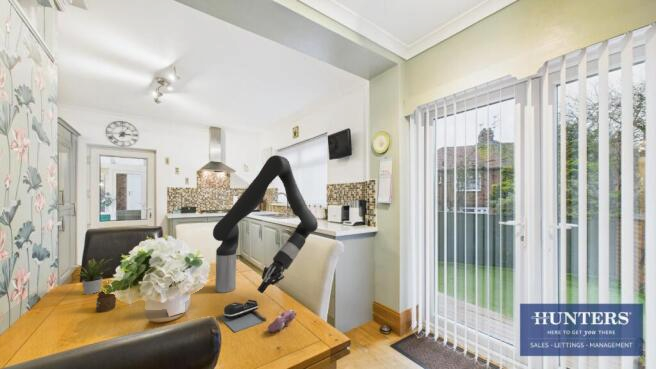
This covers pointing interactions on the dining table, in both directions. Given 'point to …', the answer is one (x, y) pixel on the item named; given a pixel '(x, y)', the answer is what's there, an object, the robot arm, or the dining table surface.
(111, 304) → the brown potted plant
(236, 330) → the mat
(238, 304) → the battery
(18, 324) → the dining table surface
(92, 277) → the house plant
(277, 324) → the purple lumpy piece
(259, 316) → the strip
